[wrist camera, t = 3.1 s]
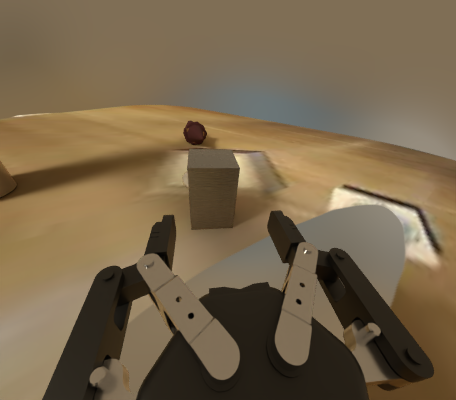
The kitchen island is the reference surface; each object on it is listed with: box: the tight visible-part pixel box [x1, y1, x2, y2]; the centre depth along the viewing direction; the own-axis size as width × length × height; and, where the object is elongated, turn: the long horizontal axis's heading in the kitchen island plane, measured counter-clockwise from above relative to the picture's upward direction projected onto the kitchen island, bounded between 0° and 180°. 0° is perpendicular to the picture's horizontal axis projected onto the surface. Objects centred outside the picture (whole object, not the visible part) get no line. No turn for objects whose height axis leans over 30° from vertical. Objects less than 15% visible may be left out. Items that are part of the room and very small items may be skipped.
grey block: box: [187, 149, 240, 230], centre depth 26 cm, size 6×6×10 cm
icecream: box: [183, 121, 207, 145], centre depth 55 cm, size 7×7×15 cm
